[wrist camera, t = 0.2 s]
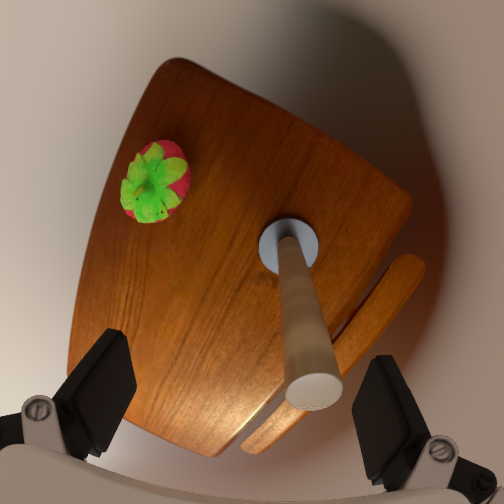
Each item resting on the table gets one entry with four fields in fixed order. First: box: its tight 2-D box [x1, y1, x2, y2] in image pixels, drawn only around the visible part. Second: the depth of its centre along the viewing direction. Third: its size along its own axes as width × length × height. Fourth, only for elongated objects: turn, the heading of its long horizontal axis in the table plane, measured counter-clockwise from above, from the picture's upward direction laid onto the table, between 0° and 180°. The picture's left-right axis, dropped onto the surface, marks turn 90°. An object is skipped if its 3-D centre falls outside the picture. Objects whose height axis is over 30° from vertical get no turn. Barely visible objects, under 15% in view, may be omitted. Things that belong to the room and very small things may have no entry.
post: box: [258, 216, 343, 411], centre depth 20 cm, size 6×6×20 cm
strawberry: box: [120, 140, 192, 223], centre depth 23 cm, size 6×7×10 cm
